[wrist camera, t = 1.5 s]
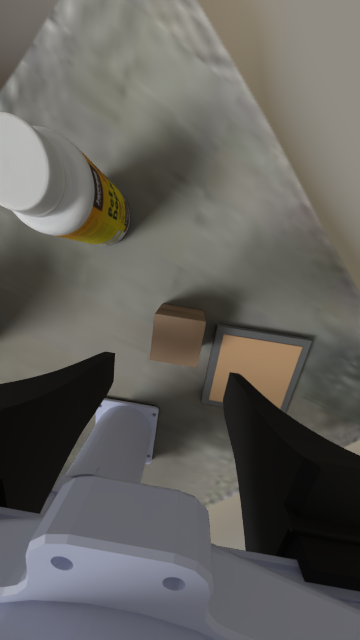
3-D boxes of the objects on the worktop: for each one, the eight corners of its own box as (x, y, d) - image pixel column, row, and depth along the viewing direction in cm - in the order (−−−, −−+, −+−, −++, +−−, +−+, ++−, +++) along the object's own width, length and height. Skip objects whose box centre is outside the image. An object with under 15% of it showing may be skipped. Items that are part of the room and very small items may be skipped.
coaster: (280, 412, 24) (283, 417, 23) (200, 399, 24) (201, 404, 23) (307, 338, 21) (312, 341, 20) (216, 323, 21) (217, 326, 20)
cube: (196, 347, 22) (197, 367, 18) (157, 341, 22) (149, 359, 18) (203, 310, 21) (206, 321, 17) (162, 303, 21) (155, 313, 17)
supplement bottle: (141, 234, 19) (87, 201, 9) (92, 254, 20) (-5, 245, 10) (117, 172, 18) (24, 59, 8) (66, 197, 19) (-75, 123, 9)
